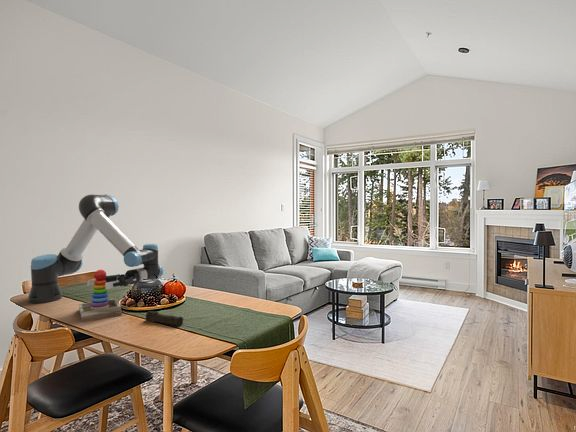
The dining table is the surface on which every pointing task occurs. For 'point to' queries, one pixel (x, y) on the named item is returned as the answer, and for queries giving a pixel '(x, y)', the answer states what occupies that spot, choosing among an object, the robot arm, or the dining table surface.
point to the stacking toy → (99, 292)
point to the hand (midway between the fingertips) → (96, 284)
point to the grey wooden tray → (99, 311)
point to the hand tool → (163, 318)
